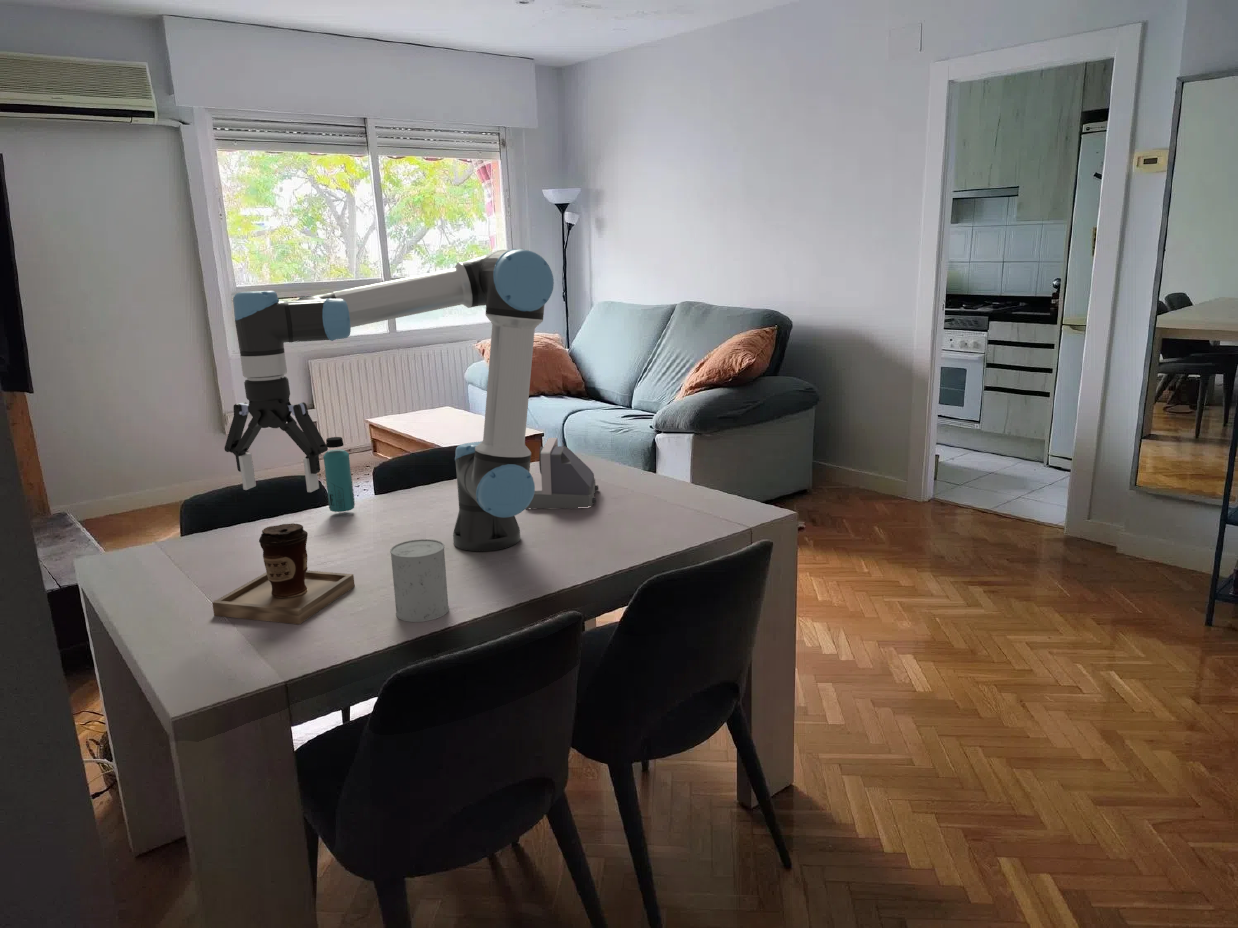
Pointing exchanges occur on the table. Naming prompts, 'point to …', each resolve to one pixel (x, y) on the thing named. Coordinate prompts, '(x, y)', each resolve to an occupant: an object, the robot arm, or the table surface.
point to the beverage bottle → (338, 477)
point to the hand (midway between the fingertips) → (281, 489)
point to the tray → (263, 606)
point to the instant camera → (562, 479)
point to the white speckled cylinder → (419, 580)
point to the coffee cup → (285, 559)
